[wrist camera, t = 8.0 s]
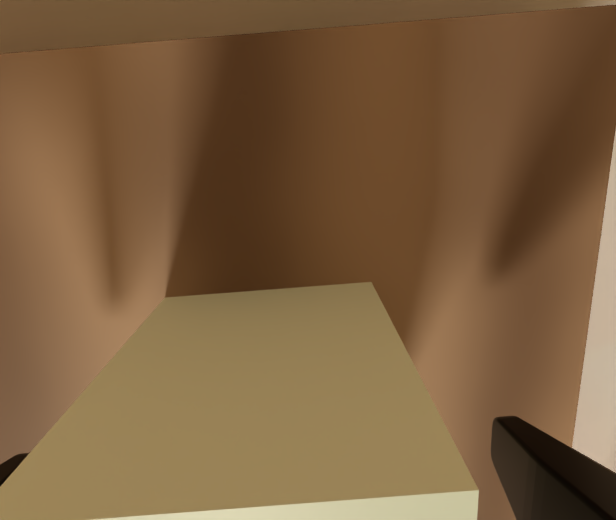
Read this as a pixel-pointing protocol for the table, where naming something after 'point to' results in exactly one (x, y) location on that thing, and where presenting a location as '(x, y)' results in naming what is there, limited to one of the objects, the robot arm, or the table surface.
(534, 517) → the robot arm
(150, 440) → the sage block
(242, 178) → the walnut base
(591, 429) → the table surface
